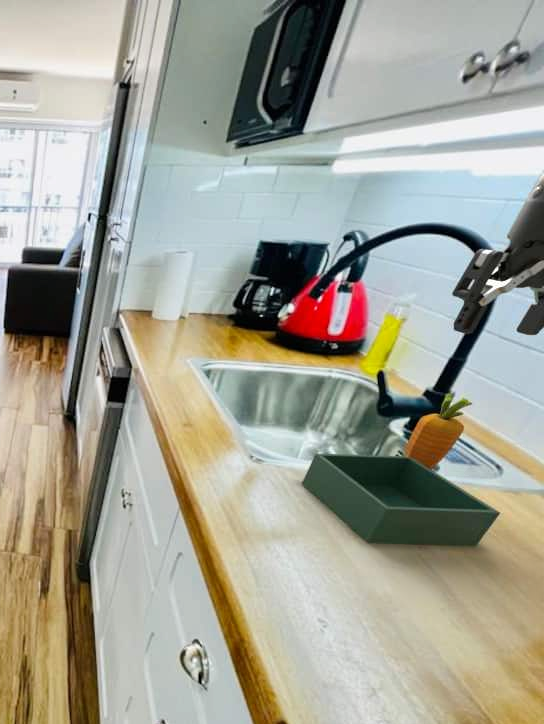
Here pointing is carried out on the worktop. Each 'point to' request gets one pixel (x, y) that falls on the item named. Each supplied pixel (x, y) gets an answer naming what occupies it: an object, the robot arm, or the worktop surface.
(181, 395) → the worktop surface
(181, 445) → the worktop surface
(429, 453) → the carrot
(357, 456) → the dark green tray
